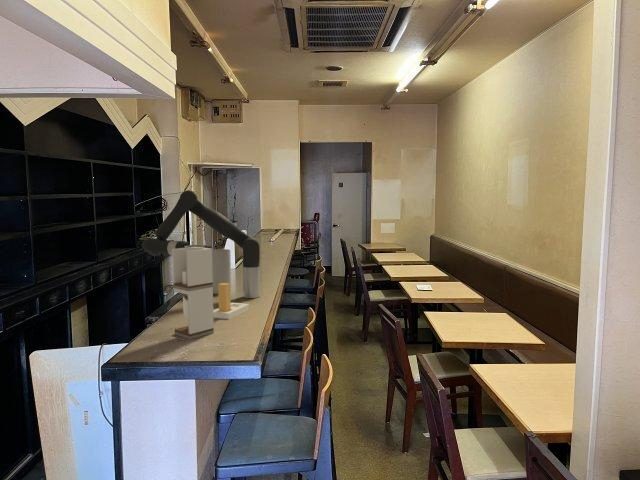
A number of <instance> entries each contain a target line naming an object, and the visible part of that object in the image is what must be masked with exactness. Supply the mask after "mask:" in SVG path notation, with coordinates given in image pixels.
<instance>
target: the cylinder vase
mask: <svg viewBox="0 0 640 480" xmlns="http://www.w3.org/2000/svg"><path fill="white" fill-rule="evenodd" d="M231 264H232V262H231V249H225V248H224V249H223V248H219V249H217V248H215V249H212V273H213V295H218V284H221V283H230V293H231V292H232V278H231V277H232V270H231V269H232V268H231V266H232V265H231Z"/></svg>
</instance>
